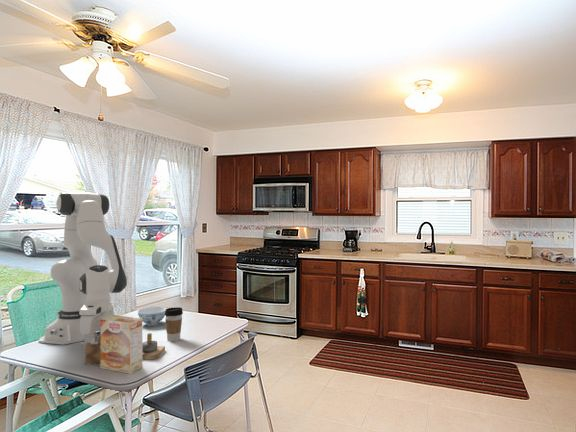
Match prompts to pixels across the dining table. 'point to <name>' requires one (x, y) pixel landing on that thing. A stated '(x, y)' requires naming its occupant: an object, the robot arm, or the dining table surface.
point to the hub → (151, 348)
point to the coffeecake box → (121, 343)
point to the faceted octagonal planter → (97, 337)
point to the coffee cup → (173, 323)
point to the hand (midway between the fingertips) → (98, 339)
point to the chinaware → (152, 315)
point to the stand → (92, 354)
